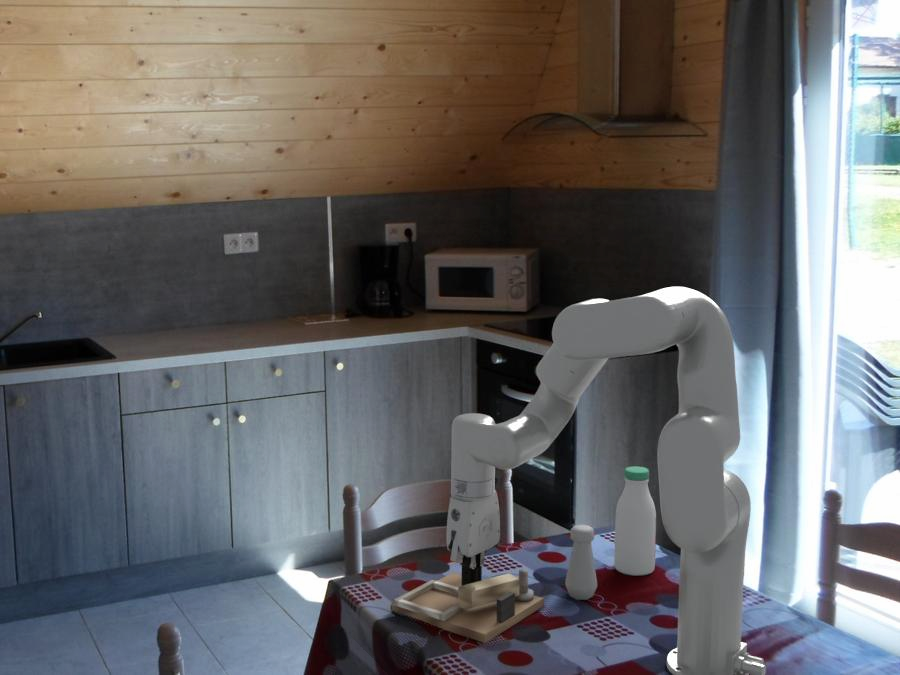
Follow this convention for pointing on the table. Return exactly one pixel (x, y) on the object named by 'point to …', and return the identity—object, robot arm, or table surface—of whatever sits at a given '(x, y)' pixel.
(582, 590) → the salt shaker
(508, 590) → the leg
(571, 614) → the table surface
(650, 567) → the milk bottle
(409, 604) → the wooden activity board
